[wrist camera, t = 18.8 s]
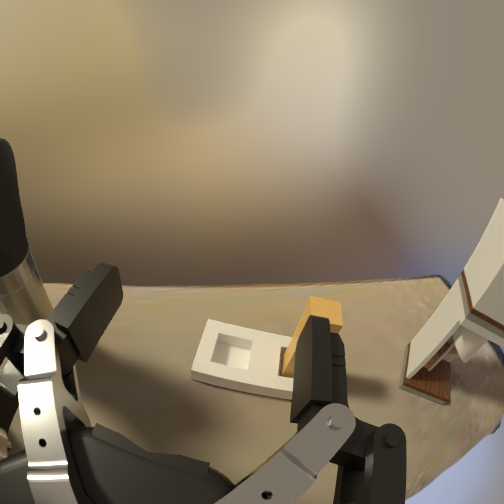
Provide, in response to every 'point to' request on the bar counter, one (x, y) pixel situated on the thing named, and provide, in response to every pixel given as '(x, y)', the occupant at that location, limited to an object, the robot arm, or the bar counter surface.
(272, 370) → the white socket board
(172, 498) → the robot arm
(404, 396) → the bar counter surface
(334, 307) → the plug
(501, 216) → the white tower
